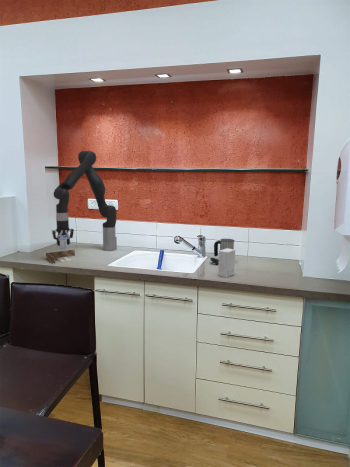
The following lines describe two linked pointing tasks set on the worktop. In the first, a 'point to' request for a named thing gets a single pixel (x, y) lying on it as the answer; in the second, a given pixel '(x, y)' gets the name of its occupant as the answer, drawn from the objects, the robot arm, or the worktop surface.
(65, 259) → the pad
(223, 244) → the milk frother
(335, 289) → the worktop surface
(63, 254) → the brown piece
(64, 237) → the medicine box
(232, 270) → the skincare box
